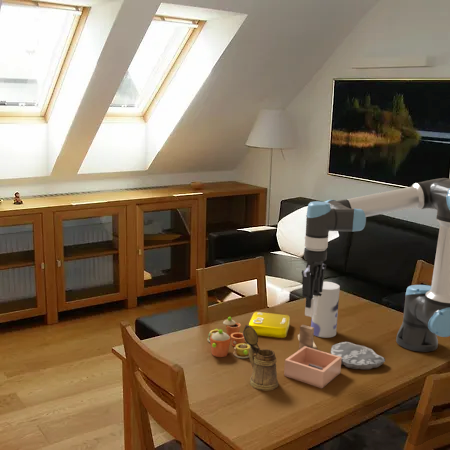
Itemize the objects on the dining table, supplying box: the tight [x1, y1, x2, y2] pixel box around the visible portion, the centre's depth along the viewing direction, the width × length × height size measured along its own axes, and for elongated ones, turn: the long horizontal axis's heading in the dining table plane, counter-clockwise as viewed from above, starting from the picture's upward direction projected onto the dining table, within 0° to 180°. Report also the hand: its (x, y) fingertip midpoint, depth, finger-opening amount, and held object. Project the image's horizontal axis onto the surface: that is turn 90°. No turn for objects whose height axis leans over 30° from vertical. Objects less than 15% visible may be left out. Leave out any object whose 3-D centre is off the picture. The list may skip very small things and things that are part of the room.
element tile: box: [248, 311, 291, 339], centre depth 232 cm, size 15×15×5 cm
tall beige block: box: [298, 324, 315, 350], centre depth 206 cm, size 4×2×12 cm, turn 55°
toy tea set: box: [207, 316, 251, 359], centre depth 215 cm, size 26×16×10 cm, turn 9°
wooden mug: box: [242, 324, 279, 391], centre depth 187 cm, size 9×14×18 cm, turn 47°
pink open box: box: [283, 346, 342, 389], centre depth 194 cm, size 14×14×6 cm
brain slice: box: [330, 341, 386, 370], centre depth 206 cm, size 20×17×3 cm
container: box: [310, 281, 341, 339], centre depth 228 cm, size 10×10×20 cm
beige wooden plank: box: [297, 333, 318, 350], centre depth 219 cm, size 12×4×2 cm, turn 5°
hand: (310, 314), depth 198 cm, fingers open, 2 cm apart
